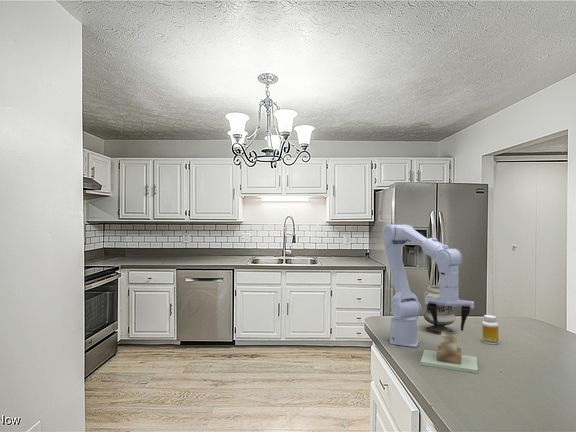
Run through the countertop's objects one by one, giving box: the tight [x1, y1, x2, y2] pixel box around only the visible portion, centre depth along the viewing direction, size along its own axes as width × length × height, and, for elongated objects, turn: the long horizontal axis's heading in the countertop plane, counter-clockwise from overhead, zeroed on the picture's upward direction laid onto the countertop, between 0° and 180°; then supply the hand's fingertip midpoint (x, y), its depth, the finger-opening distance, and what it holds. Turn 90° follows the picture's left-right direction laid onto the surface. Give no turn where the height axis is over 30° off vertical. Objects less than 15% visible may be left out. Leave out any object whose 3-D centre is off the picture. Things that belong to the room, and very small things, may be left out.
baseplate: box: [420, 349, 479, 374], centre depth 122 cm, size 16×12×1 cm
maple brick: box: [440, 331, 458, 353], centre depth 122 cm, size 4×4×5 cm
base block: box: [436, 344, 462, 365], centre depth 122 cm, size 7×7×3 cm
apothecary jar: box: [423, 284, 456, 335], centre depth 156 cm, size 12×12×18 cm
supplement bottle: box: [481, 314, 499, 345], centre depth 142 cm, size 5×5×10 cm
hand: (449, 328), depth 123 cm, fingers open, 7 cm apart
